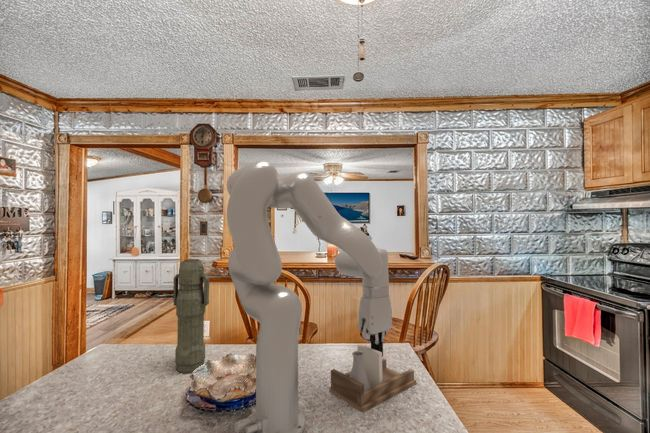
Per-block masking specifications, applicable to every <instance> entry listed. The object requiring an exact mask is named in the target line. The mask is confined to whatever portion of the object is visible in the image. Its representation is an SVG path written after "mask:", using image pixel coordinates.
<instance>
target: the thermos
mask: <svg viewBox="0 0 650 433" xmlns="http://www.w3.org/2000/svg"><path fill="white" fill-rule="evenodd" d="M204 271H205V267H204V264H203V260H200V259H198V258H197V259H195V258H194V259H190V258H189V259H184V260H182V261H181V263H180V265H179V268H178V273H177V274H176V275H174V277H173V296H172V297H173V306H175V311H176V312H175V315H176V317H177V338H176V339H177V340H176V341H177V345H176V347H175V351H174V352H175V355H174V356H175V359H174V360H175V372H176V371H177V372H179V373H178V374H180V373H183V374H182V375H188V374H193V373H192V372H193V371H194V370H195V369H196V368H198V367H199V366H201V365H203V364H204V363H205V360H206V344H205V338H204V337H205V336H204V335H205V334H204V332H205V329H204V328H205V322H204V321H205V320H204V319H205V313H206V307H207V306H208V305H209V303H210V297H209V296H210V277H209V275H208V274H205V272H204ZM177 372H176V373H177Z"/></svg>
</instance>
